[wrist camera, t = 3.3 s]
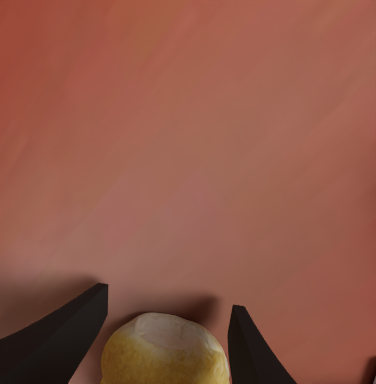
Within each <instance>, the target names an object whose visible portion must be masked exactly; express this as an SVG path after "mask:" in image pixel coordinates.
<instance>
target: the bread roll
mask: <svg viewBox="0 0 376 384" xmlns="http://www.w3.org/2000/svg"><path fill="white" fill-rule="evenodd" d="M101 371H102V375H103V377H102V380H101V382H100V384H229V367H228V362H227V358H226V356H225V354H224V351H223V349H222V347H221V345H220V343H219V342H218V341H217V340H216V338H215V337H214V336H213V335H212V334H211V333H210V332H209V331H208V330H207V329H205V328H204V327H203V326H202V325H200V324H197V323H195V322H192V321H189V320H185V319H183V318H181V317H178V316H175V315H170V314H164V313H155V312H151V313H144V314H141V315H139V316H137V317H136V318H134V319H133V320H131V321H130V322H128V323H126V324H125V325H123V326H122V327H120V328H119V329H118V330H116V331H115V332H114V333H113V334H112V336H111V337H110V338H109V340H108V342H107V343H106V345H105V348H104V350H103V354H102V358H101Z"/></svg>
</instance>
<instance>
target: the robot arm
mask: <svg viewBox="0 0 376 384" xmlns="http://www.w3.org/2000/svg"><path fill="white" fill-rule="evenodd" d="M107 314H108V284H102V283H97V284H96V285H94V286H93V287H91V288H90V289H88V290H87V291H85V292H84V293H82V294H81V295H79V296H78V297H76V298H75V299H73V300H72V301H70V302H69V303H67V304H66V305H64V306H62V307H61V308H59V309H57V310H56V311H54V312H52V313H51V314H49V315H48V316H46V317H44V318H42V319H41V320H39V321H37V322H35V323H33V324H32V325H30V326H28V327H26V328H24V329H22V330H20V331H18V332H16V333H14V334H12V335H9V336H7V337H5V338H3V339H1V340H0V384H68V382H69V381H70V379H71V377H72V376H73V374H74V372H75V371H76V369H77V368H78V366H79V364H80V363H81V361H82V359H83V358H84V356H85V355H86V353H87V351H88V350H89V348H90V346H91V345H92V343H93V342H94V340H95V338H96V337H97V335H98V333H99V331H100V329H101V327H102V325H103V323H104V321H105V319H106V317H107ZM228 354H229V363H230V369H231V376H232V383H233V384H297V383H296V382H295V381H294V380H293V378H292V377H291V376H290V375H289V373H288V372H287V371H286V369H285V368H284V367H283V366H282V364H281V363H280V362H279V360H278V359H277V357H276V356H275V355H274V353H273V352H272V350H271V349H270V347H269V346H268V344H267V343H266V341H265V340H264V338H263V337H262V335H261V334H260V332H259V330H258V329H257V327H256V325H255V324H254V322H253V320H252V319H251V317H250V315H249V313H248V312H247V310H246V308H245V307H244V306H239V305H233V307H232V313H231V318H230V324H229V329H228ZM373 384H376V377H375V380H374V382H373Z"/></svg>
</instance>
